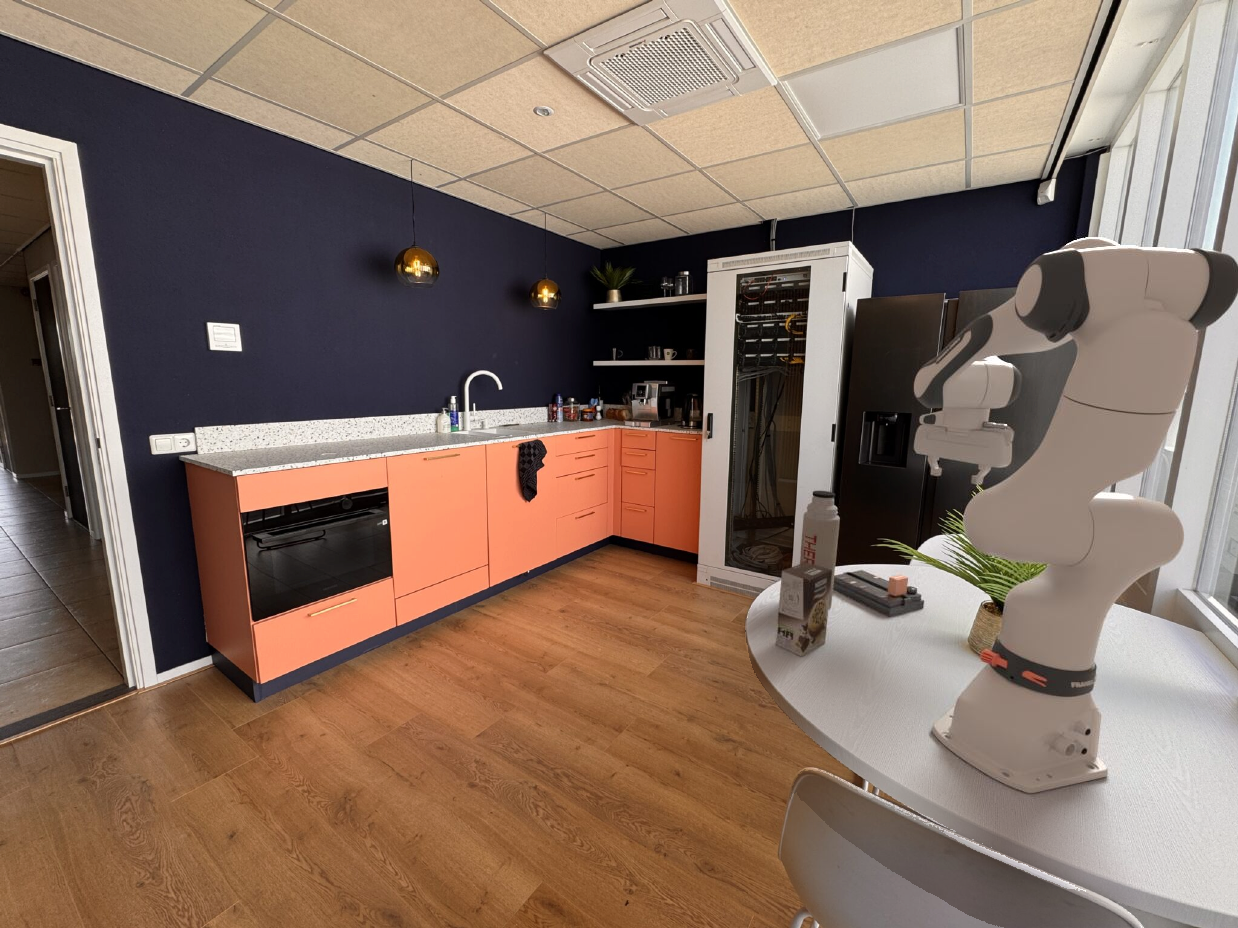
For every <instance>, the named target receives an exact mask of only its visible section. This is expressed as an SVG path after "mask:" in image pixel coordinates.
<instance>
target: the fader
mask: <svg viewBox="0 0 1238 928" xmlns="http://www.w3.org/2000/svg"><path fill="white" fill-rule="evenodd" d="M888 577H889V579H888V581H889V585H888V593H889V594H891V595H894V596H898V597H900V598H902V594H906V592H907V586H908V584H909V577H907V576H905V575H902V574H898V575H893V576H892V575H891V576H888Z"/></svg>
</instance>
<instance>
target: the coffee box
mask: <svg viewBox="0 0 1238 928" xmlns="http://www.w3.org/2000/svg"><path fill="white" fill-rule="evenodd" d="M831 577H832V570H830V569H827V568H824V567H820V566H817V565H812V564H809V563H806V562H804V563H801V564H800V563H799V564H797V565H794V566H791V567H789V568H786V569H783V570H781V579H780V590H779V603H778V613H777V614H778V615H777V625H776V636H775V645H777V646H778V647H781V648H783V649H785V650H787V651H789V652H792V653H793V654H795V655H797V656H799V657H803V656H806V655H807V654H809V653H810V652H812V651H814V650H816V649H817V648H819V647H821V646H822V645H824V644H825V643H826V637H827V629H828V618H829V617H828V616H829V610H828V608H829V598H830V588H831Z"/></svg>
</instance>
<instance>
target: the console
mask: <svg viewBox="0 0 1238 928" xmlns="http://www.w3.org/2000/svg"><path fill="white" fill-rule="evenodd" d="M888 585H889V580H887V579H885V578H882V577H880V576H879V575H874V574H872V573H870V572H868V571H865V570H863V569H860V570H856V571H846V572H842V573H841V574H836V575H835V574H834V583H833V592H835V593H838V594H841V595H842V596H845V597H847V598H849V599H850V600H853V601H854V602H857V603H858V604H860V605H862V606H865V607H867V608H869V609H870V610H873V611H875V612H878V613H880V614H881V615H884V616H886V617H888V618H891V617H895V616H899V615H904V614H907V613H910V612H915V611H918V610H919V611H920V610H923V609H924V606H925V600H923V599H922V594H920V593H918V588H917V587H916V586H911V585H909V586H908V585H907V592H906V594H902V598H900V597H898V596H894V595H891V594H889V593H888Z"/></svg>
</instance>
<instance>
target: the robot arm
mask: <svg viewBox="0 0 1238 928" xmlns="http://www.w3.org/2000/svg"><path fill="white" fill-rule="evenodd" d="M1237 297H1238V263H1237V261H1236V260H1235V258H1233V257H1232V255H1230V254H1228V253H1224V252H1221V251H1218V250H1213V249H1207V248H1199V247H1192V248H1186V249H1182V248H1181V249H1179V248H1178V249H1177V248H1169V247H1167V248H1165V247H1139V246H1136V245H1121V244H1119V243H1117V242H1116V241H1114V240H1110V239H1107V238H1105V237H1085V238H1084V237H1083V238H1079V239H1077V240H1073V241H1071V242H1069V243H1067V244H1066V245H1064V246H1062V247H1060V249H1058V250H1055V251H1051V252H1046V253H1044V254H1040V255H1039V256H1038V257H1037V258H1035V259H1034V260H1033V261H1032V262H1031V263H1029V265H1028V266H1026V268H1025V270H1024V272H1023V274H1022V275H1021V278H1020V279H1019V282H1018V284H1017V288H1016V291H1015V295H1014V296H1012V297H1011V298H1010V299H1008V300H1007V301H1006V302H1005V303H1003V304H1001V305H999V306H998V307H996V308H994V309H992V310H991V311H989V312H988V313H986V314H982V315H981V316H979V317H977V318H975V319H973V320H972V321H971V322H970V323H969V324H967V325H966V326H965V327H964V328H963V329H962V330H961V331H960V332H959V333H958V334H957V335H956V336H955V337H954V338H953V339H952V340H951V341H950V342H949V343H948V344H947V345H946V346H945V347H944V348H943V349H942V351H940V352H939V354H937V355H936V356H935V357H934V358H932V359H930V360H928V362H926V363H925V364H923V365H922V367H920V369H919V370H918V372H917V374H916V375H915V378H914V381H913V393H914V394H913V395H914V397H915V399H916V400H917V401H918V402H919V403H920V404H922V406H924V407H925V408H927V409H942V410H940V411H935V412H931V413H926V414H921V416H919V423H920V425H919V426H918V428H917V429H916V432H915V437H914V442H913V450H914V451H915V453H916V454H919V455H925V456H927V462H928V464H929V467H930V475H931V476H935V477H939V476H941V475H942V471H943V468H942V467H939V466H940V465H939V464H938V461H939V460H940V458H941V459H947V460H951V461H953V460H954V461H958V462H964V463H970V464H976V465H978V467H977V469H978V470H979V472H978V473H977V474H976V475H971V481H970V482H971V484H974V485H978V486H979V485H982V484H983V483H984V477H986V475H987V474H988V473H990V471H991V469H992V468H999V469H1000V468H1006V467H1008V466H1009V465H1010V464H1011V463H1012V459H1013V441H1014V437H1015V431H1014V430H1013V428H1011V426H1008V424H1005V423H995V422H989V419H990V418H989V417H990V413H991V409H1001V408H1006V407H1008V406H1009V405H1010V404H1012V403H1013V402H1014V401H1016V400H1017V399H1018V397H1019V395H1020V393H1021V388H1022V382H1023V376H1022V373H1021V371H1020V370H1019V369H1018V368H1017V367H1016V366H1015V365H1014V364H1012V363H1011V362H1006V361H1004V360H1001V359H1000V358H999V357H998V356H1007V355H1008V356H1009V355H1016V354H1017V355H1018V354H1028V353H1029V354H1030V353H1038V352H1046V351H1050V350H1053V349H1055V348H1058V347H1060V346H1062V345H1064V344H1066V343H1068V342H1069V341H1072V340H1073V341H1074V342H1075V345H1076V347H1077V348H1076V349H1077V352H1076V358H1075V361H1074V364H1073V366H1072V368H1071V371H1070V372H1069V375H1068V377H1067V380H1066V382H1065V384H1064V387H1063V390H1062V393H1061V395H1060V398H1059V401H1058V404H1057V406H1056V410H1055V412H1054V415H1053V417H1052V419H1051V422H1050V424H1049V427H1048V429H1047V431H1046V433H1045V436H1044V437H1043V440H1042V441H1041V443H1040V444H1039V447H1038V448H1037V449H1036V450H1035V452H1034V453H1033V454H1032V456H1031V457H1030V458H1029V459H1028V460H1027V461H1026V462H1024V464H1022V466H1021V467H1020V468H1018V470H1016V471H1015V472H1014V473H1012V474H1011V475H1010V476H1008V477H1006V479H1004V480H1002V481H1001V482H999V483H997V484H995V485H993V486H991V487H989V488H986V489H984V490H981V491H979V492H977V494H976V495H974V496H973V497H972V498H971V499H970V501H969V502H968V503H967V505H966V507H965V510H964V513H963V516H962V517H963V518H962V526H963V530H964V534H965V536H966V538H967V540H968V541H969V543H970V545H971V546H972V547H974V549H975V550H976V551H977V552H979V553H980V554H984V555H988V556H989V557H990V556H991V557H995V558H998V559H1003V560H1007V561H1010V562H1016V563H1026V564H1039V565H1040V564H1041V565H1047V567H1046V568H1044V570H1043V571H1041V572H1040V573H1039V574H1038V575H1036V576H1035V577H1033V578H1031V579H1028V580H1025V581H1022V582H1020V583H1018V584H1016V585H1015V586H1013V587H1012V588H1011V589H1010V590H1009V591H1008V593H1007V594H1006V596H1005V599H1004V603H1003V610H1002V617H1001V624H1000V629H999V630H1000V631H999V634H998V635H997V636H996V638H995V640H994V642H993V643H992V645H991V648H990V649H988V648H985V649H983V650H982V651H981V653H980V657H979V658H980V661H981V662H983V663H986V664H985V665H984V666H983V668H982V669H980V671H979V672H978V673H977V674H976V675H975V677H974V678H973V679H972V680H971V681H970V682H969V684H968V685H967V686H966V687H965V689H964V690H963V691H962V692H961V693H960V694H959V696H958V697H957V699H956V702H955V704H954V706H952V707H951V708H950V709H949V710H947V711H946V712H945V713H944V714H942V716H940V717H939V718H938V719H937V720H936V721H935V722H934V723H933V724H932V727H931V732H932V733H933V734H934V736H935V737H936V739H938V740H939V742H940V743H942V744H943V746H945V747H946V748H948V749H949V750H950V751H952V753H954V754H955V755H956V756H957V757H959V758H961V759H962V760H964V761H965V762H966V763H968V764H969V765H971V766H972V767H974V768H976V769H977V770H979V771H981V772H982V773H984V774H985V775H987V776H989V777H990V778H992V779H995V780H996V781H998V782H1001V783H1003V784H1004V785H1006V786H1009V787H1011V788H1013V789H1016V790H1019V791H1022V792H1024V793H1028V794H1034V793H1039V792H1044V791H1048V790H1052V789H1057V788H1061V787H1066V786H1070V785H1075V784H1079V783H1084V782H1088V781H1092V780H1093V781H1094V780H1097V779H1102V778H1106V777H1108V775H1109V774H1108V771H1109V768H1108V766H1107V765H1106V763H1105V762H1103V760H1101V758H1099V756H1098V753H1099V752H1098V751H1099V743H1100V742H1099V741H1100V731H1101V725H1102V724H1101V722H1102V713H1101V712H1100V709H1099V708H1098V707H1097V705H1096V704H1095V701H1094V699H1093V696H1092V694H1091V692H1092V691H1093V690H1094V688H1095V687H1094V686H1095V683H1096V680H1097V674H1098V673H1097V669H1098V665H1097V663H1096V662H1095V657H1096V655H1097V654H1096V653H1097V648H1098V644H1099V640H1100V636H1101V632H1102V629H1103V626H1104V622H1105V621H1106V618H1107V616H1108V613H1109V612H1110V610H1111V608H1112V607H1113V605H1114V604H1115V603H1116V601H1117V600H1118V599H1119V598H1120V596H1121V595H1122V594H1124V592H1125V591H1126V590H1127V589H1128V588H1129V587H1131V586H1132V585H1133V584H1134V583H1135V582H1136V581H1138V580H1139V579H1140V578H1142V577H1144V576H1145V575H1146V574H1148V573H1150V572H1152V571H1154V570H1155V569H1158V568H1161V567H1163V566H1166V565H1167V564H1169V563H1171V562H1172V561H1173V560H1174V559H1175V558H1176V557H1177V555H1179V553H1180V551H1181V550H1182V547H1183V546H1184V545H1183V544H1184V541H1185V532H1184V527H1183V524H1182V522H1181V520H1180V519H1181V518H1179V517H1178V515H1177V514H1176V512H1175V511H1174V510H1173V509H1172V507H1169V505H1167V504H1165V503H1163V502H1162V501H1158V500H1154V499H1150V498H1146V497H1142V496H1137V495H1133V494H1129V493H1123V492H1113V491H1112V492H1111V491H1110V492H1109V491H1104V490H1106V489H1107V488H1109V487H1111V486H1112V485H1115V484H1118V483H1120V482H1122V481H1125V480H1127V479H1130V478H1132V477H1135V476H1137V475H1139V474H1141V473H1143V472H1144V471H1146V470H1147V469H1148V468H1150V466H1151V465H1152V464H1153V463H1154V461H1155V459H1156V457H1157V455H1158V453H1159V451H1160V449H1161V447H1162V444H1163V442H1164V440H1165V438H1166V436H1167V434H1168V432H1169V429H1170V427H1171V425H1172V422H1173V420H1174V418H1175V416H1176V413H1177V411H1178V409H1179V407H1180V405H1181V403H1182V400H1183V398H1184V395H1185V393H1186V390H1187V387H1188V384H1189V381H1190V378H1191V374H1192V371H1193V368H1194V367H1193V366H1194V364H1195V363H1194V362H1195V357H1196V353H1197V346H1198V340H1199V337H1198V336H1199V335H1198V331H1200V330H1203V329H1205V328H1208V327H1209V326H1212V324H1214V323H1216V322H1217V321H1218V320H1219V319H1220V318H1222V316H1223V315H1225V313H1227V311H1228V310H1229V309H1230V308H1231V307H1232V305H1233V303H1234V302H1235V300H1236V299H1237Z"/></svg>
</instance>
